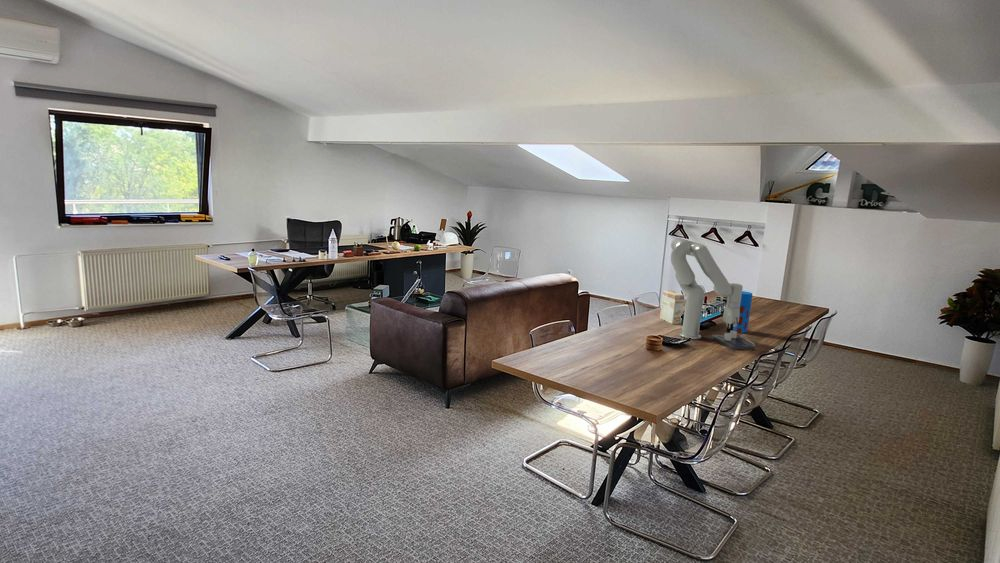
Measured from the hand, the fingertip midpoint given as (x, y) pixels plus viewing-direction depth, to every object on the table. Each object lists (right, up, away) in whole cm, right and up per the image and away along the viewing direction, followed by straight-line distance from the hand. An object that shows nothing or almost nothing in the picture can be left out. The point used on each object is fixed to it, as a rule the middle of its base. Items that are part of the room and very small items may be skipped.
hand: (729, 334), depth 333 cm
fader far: (+1, -2, -4) cm, 4 cm away
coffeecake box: (-24, +5, +37) cm, 44 cm away
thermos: (+15, 0, +22) cm, 26 cm away
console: (-2, -5, -8) cm, 10 cm away
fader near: (-5, -2, -10) cm, 11 cm away
